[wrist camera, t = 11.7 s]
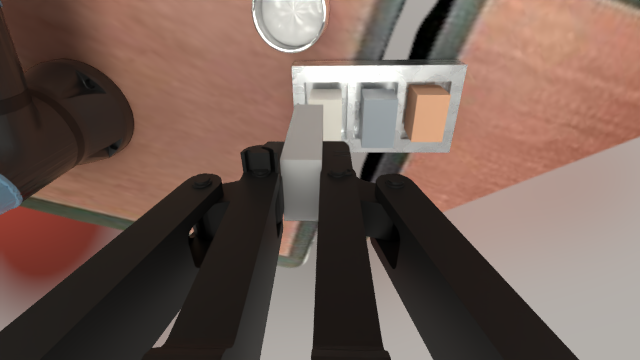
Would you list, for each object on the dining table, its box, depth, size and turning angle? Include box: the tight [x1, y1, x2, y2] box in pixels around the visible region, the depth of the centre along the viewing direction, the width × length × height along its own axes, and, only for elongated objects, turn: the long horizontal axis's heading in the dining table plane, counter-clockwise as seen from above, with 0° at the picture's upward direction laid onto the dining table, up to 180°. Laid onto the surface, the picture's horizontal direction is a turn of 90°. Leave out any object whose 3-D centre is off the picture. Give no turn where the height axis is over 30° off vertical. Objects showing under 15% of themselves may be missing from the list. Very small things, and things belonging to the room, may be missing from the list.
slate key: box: [359, 89, 399, 148], centre depth 41 cm, size 4×6×5 cm, turn 1°
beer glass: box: [252, 0, 329, 53], centre depth 34 cm, size 7×7×15 cm
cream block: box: [308, 89, 342, 141], centre depth 41 cm, size 4×6×5 cm, turn 1°
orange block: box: [404, 85, 451, 142], centre depth 42 cm, size 4×6×5 cm, turn 1°
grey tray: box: [292, 59, 467, 152], centre depth 45 cm, size 22×12×4 cm, turn 91°
